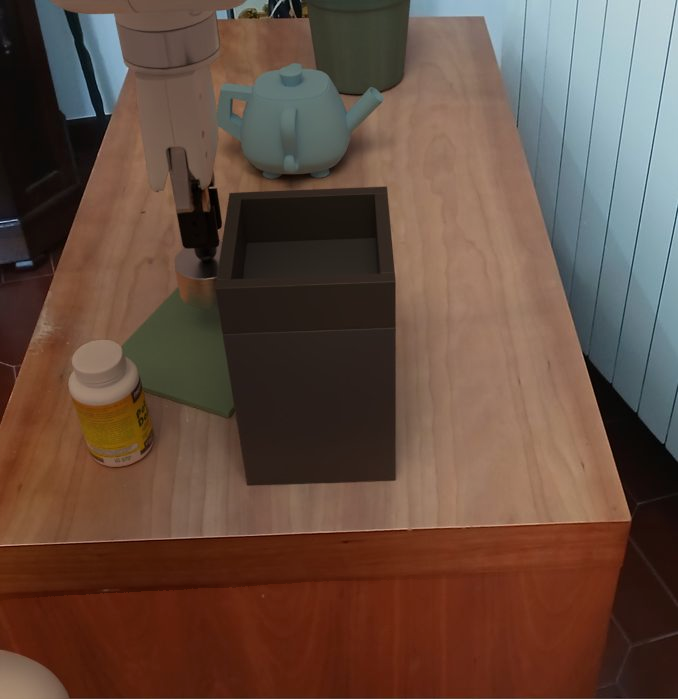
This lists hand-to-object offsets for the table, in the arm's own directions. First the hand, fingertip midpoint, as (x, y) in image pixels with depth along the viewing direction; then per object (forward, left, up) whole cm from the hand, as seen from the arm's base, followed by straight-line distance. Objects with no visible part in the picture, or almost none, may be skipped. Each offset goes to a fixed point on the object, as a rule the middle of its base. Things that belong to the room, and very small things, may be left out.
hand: (203, 236), depth 82 cm
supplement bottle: (-16, 0, -11) cm, 20 cm away
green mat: (0, 0, -11) cm, 11 cm away
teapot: (+32, +7, -11) cm, 34 cm away
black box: (-8, -15, -11) cm, 20 cm away
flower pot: (+56, +10, -11) cm, 58 cm away
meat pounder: (0, 0, -6) cm, 6 cm away
